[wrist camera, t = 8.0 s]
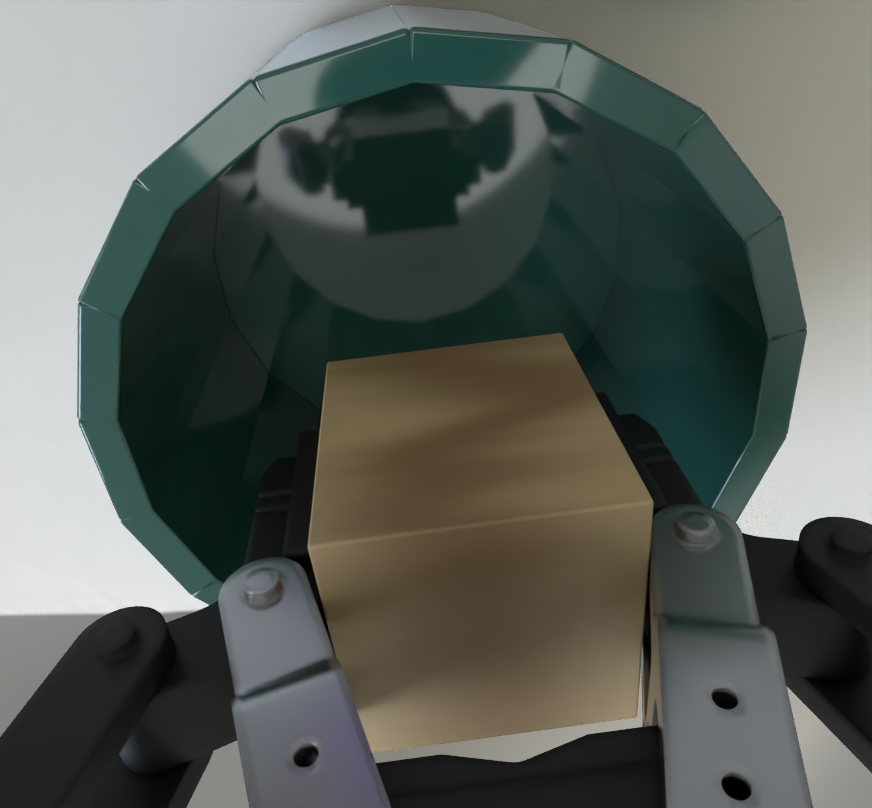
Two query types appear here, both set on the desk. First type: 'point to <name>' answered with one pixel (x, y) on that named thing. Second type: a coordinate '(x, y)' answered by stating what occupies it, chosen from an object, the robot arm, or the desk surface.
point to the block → (478, 543)
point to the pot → (426, 264)
